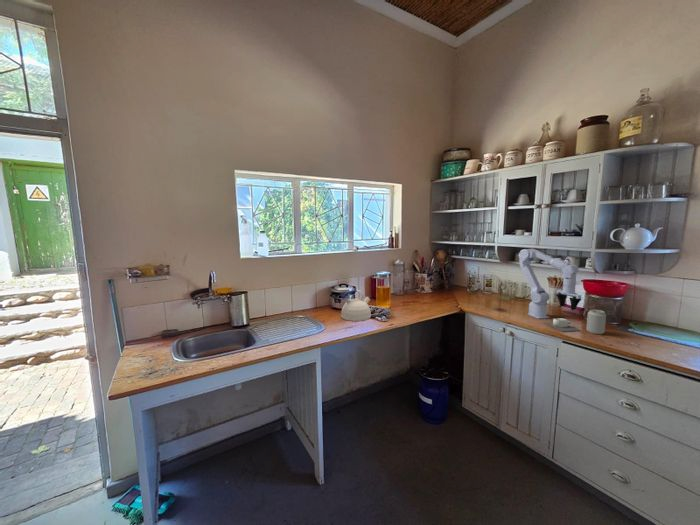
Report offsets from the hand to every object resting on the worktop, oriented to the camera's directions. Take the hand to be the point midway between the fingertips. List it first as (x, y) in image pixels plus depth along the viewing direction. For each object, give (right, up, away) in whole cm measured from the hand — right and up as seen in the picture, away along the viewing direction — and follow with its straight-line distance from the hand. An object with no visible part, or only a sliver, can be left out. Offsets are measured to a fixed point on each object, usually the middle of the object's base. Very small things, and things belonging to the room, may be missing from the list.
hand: (567, 307), depth 166 cm
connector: (-8, -10, -5) cm, 13 cm away
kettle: (-123, -10, +24) cm, 126 cm away
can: (+5, -11, -13) cm, 18 cm away
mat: (-7, -10, -4) cm, 13 cm away
